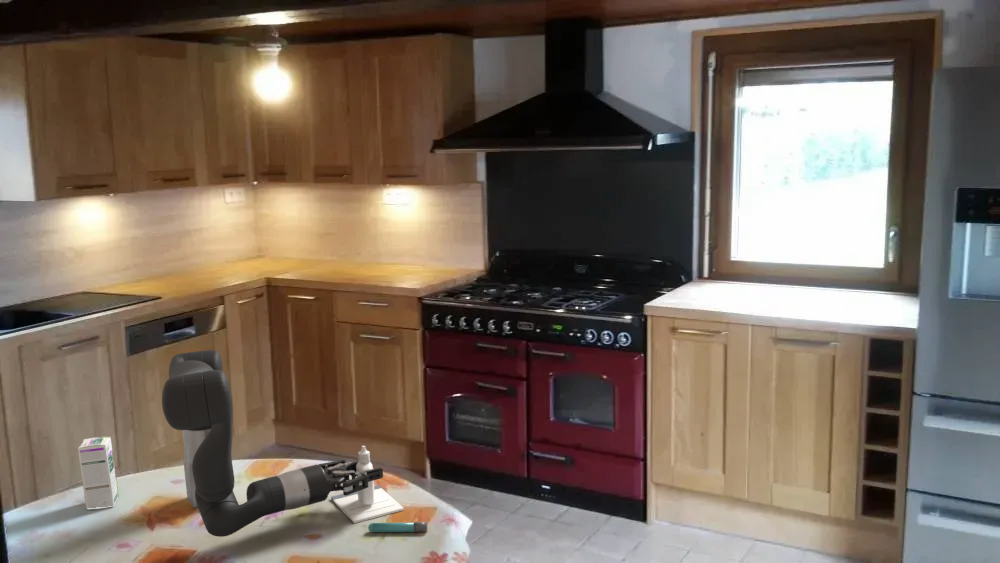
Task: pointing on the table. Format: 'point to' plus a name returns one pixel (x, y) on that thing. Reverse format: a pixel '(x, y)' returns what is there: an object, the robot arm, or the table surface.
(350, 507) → the notepad
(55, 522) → the table surface
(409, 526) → the marker
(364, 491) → the white tapered bottle shape
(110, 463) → the syrup box
